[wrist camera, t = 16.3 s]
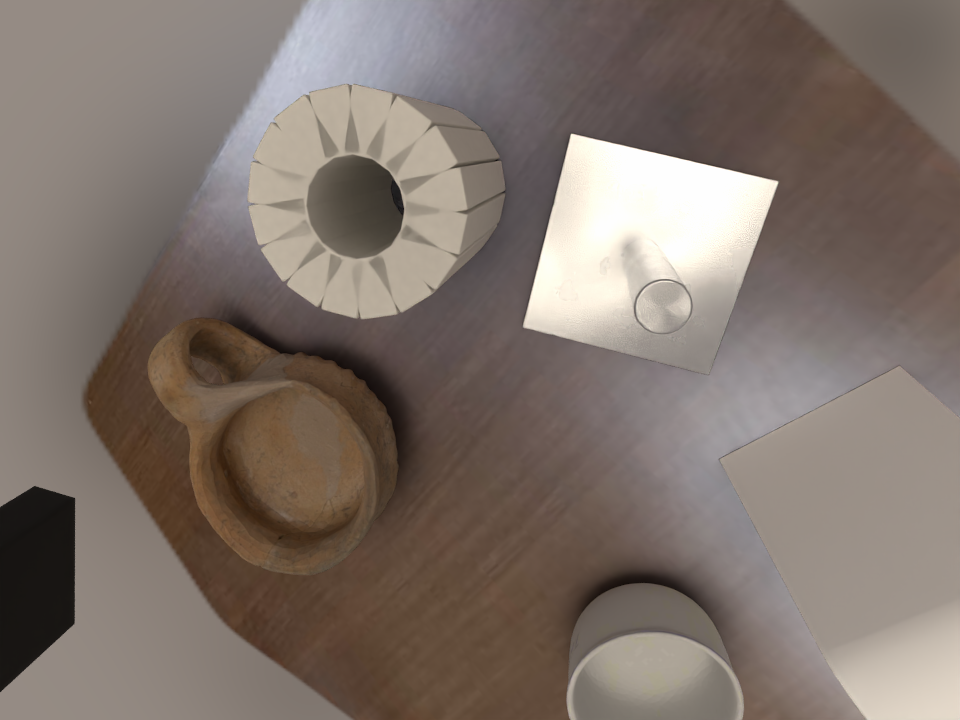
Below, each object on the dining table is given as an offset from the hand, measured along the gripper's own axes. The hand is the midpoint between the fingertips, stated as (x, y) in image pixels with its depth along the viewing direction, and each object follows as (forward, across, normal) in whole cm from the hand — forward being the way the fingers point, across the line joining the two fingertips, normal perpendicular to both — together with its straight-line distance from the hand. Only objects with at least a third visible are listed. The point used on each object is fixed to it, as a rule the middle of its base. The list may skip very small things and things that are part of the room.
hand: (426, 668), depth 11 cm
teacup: (+33, +14, -24) cm, 43 cm away
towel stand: (+33, +5, +3) cm, 33 cm away
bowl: (+33, -15, -14) cm, 39 cm away
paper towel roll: (+33, -9, +4) cm, 34 cm away
